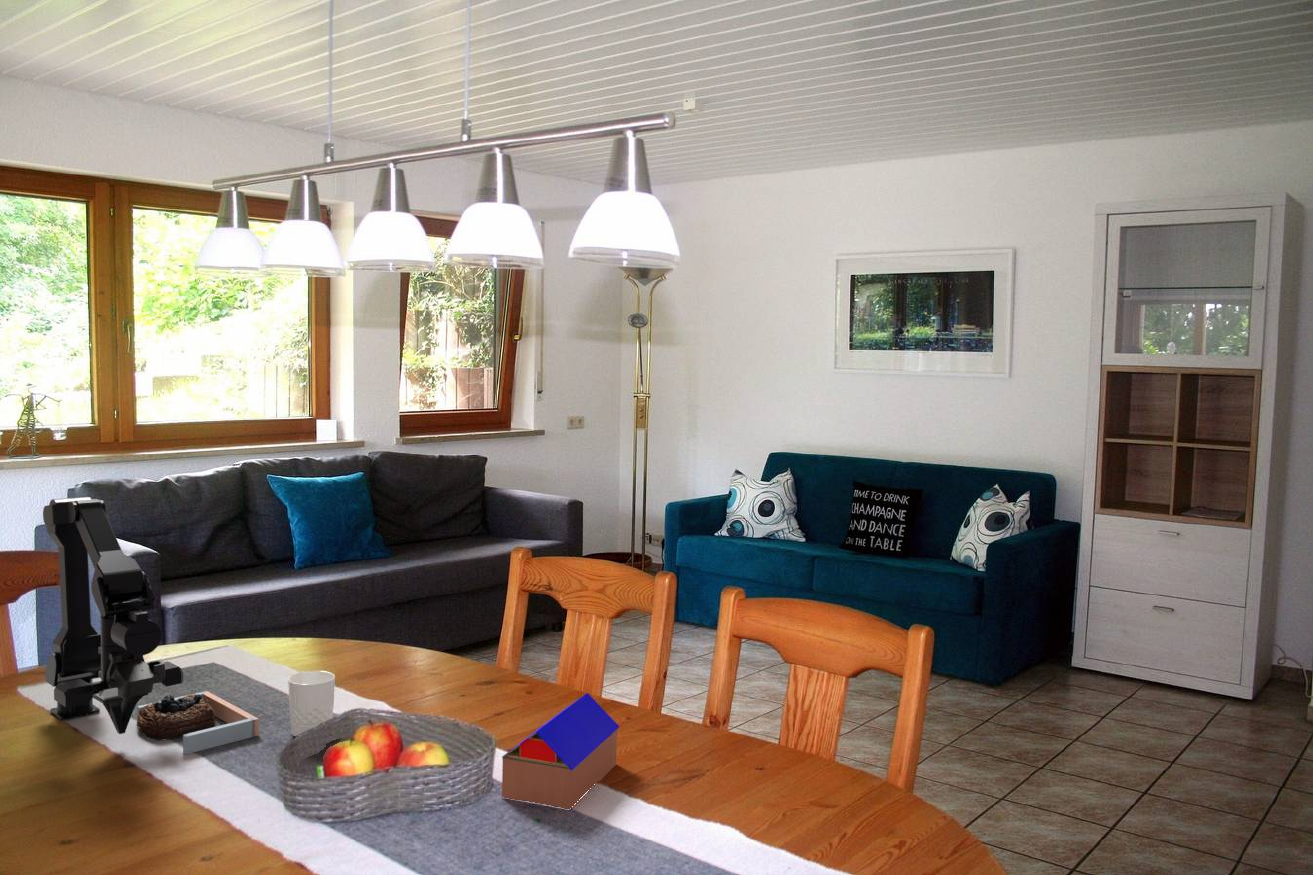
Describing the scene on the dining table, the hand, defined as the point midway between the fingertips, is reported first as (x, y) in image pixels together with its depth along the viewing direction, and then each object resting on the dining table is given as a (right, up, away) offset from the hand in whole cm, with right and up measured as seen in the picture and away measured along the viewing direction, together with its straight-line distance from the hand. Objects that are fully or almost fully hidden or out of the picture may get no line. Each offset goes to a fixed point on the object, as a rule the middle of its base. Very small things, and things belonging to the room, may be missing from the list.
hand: (121, 733), depth 174 cm
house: (+75, -6, -8) cm, 76 cm away
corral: (+8, -2, +9) cm, 13 cm away
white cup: (+29, -3, +10) cm, 31 cm away
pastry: (+5, -2, +10) cm, 12 cm away
